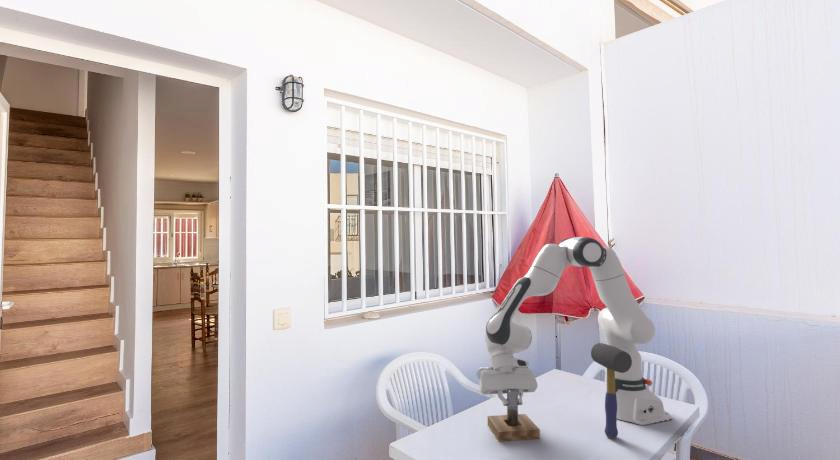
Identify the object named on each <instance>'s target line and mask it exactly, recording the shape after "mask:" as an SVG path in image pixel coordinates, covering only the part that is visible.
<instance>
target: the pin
mask: <svg viewBox="0 0 840 460" xmlns="http://www.w3.org/2000/svg"><path fill="white" fill-rule="evenodd" d="M518 398H519V396H518V390H517V389H507V393H506V399H508V403H509V404H508V406H506V415H507V420H508V421H509V422H517V421H518V414H519V405H518Z"/></svg>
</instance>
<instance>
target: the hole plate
mask: <svg viewBox="0 0 840 460" xmlns="http://www.w3.org/2000/svg"><path fill="white" fill-rule="evenodd" d="M487 426H488V428H489V429H490V431H491V432H492V433H493V435H494V437H495V439H497V441H498V442H505V441H506V442H508V441H522V440H523V441H525V440H538V439H539V440H540V438H541V437H540V436H541V435H540V434H541V433H540V432H541V429H540V428H539V426H537V425H536V424H535V423H534V421H533V420H532V419H531V418H530V417H529V416H528V415H527V414H526V413H518V421H517V422H509V421H508V420H507V414H503V415H502V414H501V415H500V414H499V415H487Z"/></svg>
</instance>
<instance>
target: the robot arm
mask: <svg viewBox="0 0 840 460" xmlns="http://www.w3.org/2000/svg"><path fill="white" fill-rule="evenodd" d="M568 266H573V267H577V268H578V267H586V268H588V269H589V271H590V272H591V276H592V280H593V282H594V286H595V288H596V291H597V294H598V297H599V299H600V301H601V302H602V303H603V304H604V305H605V307H604V308H602V309H601V310H600V311H599V313H598V315H597V322H598V323H597V324H598V325H599V328H601V331H602V333H603V336H604V340H605V344H607V345H611V346H614V347H616V348H619V349H621V350H623V351H625V352H627V353H628V354H629V355H630V356H631V359H632V365H631V367H630V369H629V370H628V371H627V372H624V373H620V372H617V371H615V393H616V397H617V420H620V421H624V422H630V423H633V424H636V425H639V426H644V425H651V424H655V422H656V423H661V422H660V421H662V422H665V421H664V420H667V421H669V420H668V419H671V418H672V415H671V414H670V412H668V411H666V410H665V407H664V404H663V400H662V399H661V398H660V397H659V396H657V394H655V393H654V392H652V391H651V390H650V389H649V388H647V386H648V387H651V386H652V385H653V381H652V380H650V379H648V378H646V379H645V377H643V375H642V373H643V372H642V371H643V366H642V361H643V360H642V356H641V353H640V352H639V350H638V349H637V346H636V344H641V345H643V344H648V343H649V342H652V340H653V339H654V337H655V334H656V326H655V324H654V322H653V321H652V320H651V319H650V318H649V317H648V316H647V315H646V313H645V312H644V311H643V309H642V308H641V307H640V305H639V303H638V302H637V300H636V298H635V296H634V295H633V293H632V291H631V288H630V285H629V283H628V279H627V277H626V273H625V271H624V267H623V265H622V263H621V260H620V259H619V257H618V255H617V253H616V251H615V250H614V249H613V248H611V247H608V246H603V245H602V243H600V241H598V240H596V239H595V238H594V237H593V238H592V237H588V236H586V237H584V236H575V237H567V238H565V239H563V240H561V241H560V242H558V243H557V244H556V243H547V244H545V245H544V246H543V247H542V248H541V249H540V251H539V252H538V253H537V256H536V257H535V258H534V260H533V262H532V265H530V268H529V269H528V272H527V273H526V274H525V275H524V276H523V277H520V278H518V279H517V281H515V283H514V284H513V286H512V287H511V289H510V290H509V292H508V293H507V295H506V296H505V298H504V299H503V301H502V302H501V304H500V305H499V307H498V309H497V310H496V312H494V314H493V315H492V316H491V317H490V318H489V320H488V321H487V322H486V326H485V333H484V334H485V335H484V341H485V347H486V351H487V353H488V355H489V364H490V366H489V367H480V368H479V369H477V371H476V376H477V378H478V381H479V382H478V383H479V385H478V386H479V391H480V393H481V394H482V395H497V397H498V398H499V400H500V401H501V402H502V406H504V407H505V406H506V407H507V406H508V404H509V403H508V399H507V398H505V397H504V394H507V389H517V390H518V406H522V405H523V404H524V403H523V396H524V394H525V393H535V391H536V390H537V389H538V382H537V378H536V376H535V374H534V371H533V370H532V369H531V368H529V367H530V364H529V361H527V360H523V359H519V358H516V357H514V354H518V353H520V352H522V351H523V352H524V351H525V350H527V349H528V348H529V347H530V345H531V344H532V338H533V337H532V332H531V329H530V328H528V326H526V325H523V324H521V323H520V322H517V321H514V320H513V318H514V316H515V315H516V313H517V312H518V310H519V309H520V307H521V305H522V304H523V302H524V301H525V300H526V299H528V298H532V297H542V296H547V295H549V294H552V292H554V290H555V289H556V287H557V286H558V284H559V281H560V280H561V277H562V275H563V272H564V271H565V270H566V268H567V267H568Z"/></svg>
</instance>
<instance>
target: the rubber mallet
mask: <svg viewBox="0 0 840 460" xmlns="http://www.w3.org/2000/svg"><path fill="white" fill-rule="evenodd" d="M590 357H591V359H592V361H594V363H596V364H598V365H600V366H602V367H604V368H606V392H605V397H604V412H605V427H604V433H605V435H606V437H607V438H609V439H616V438H617V436H618V434H619V431H618V424H617V420H618V419H617V397H616V393H615V371H617V372H620V373H624V372H627V371H628V370H629V369H630V367H631V365H632V359H631V356H630V355H629V354H628V353H627V352H625V351H623V350H621V349H619V348H616V347H614V346H611V345H607V344H606V343H603V342H598V343H596V344H594V345H593V346H592V347H591V350H590Z"/></svg>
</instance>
